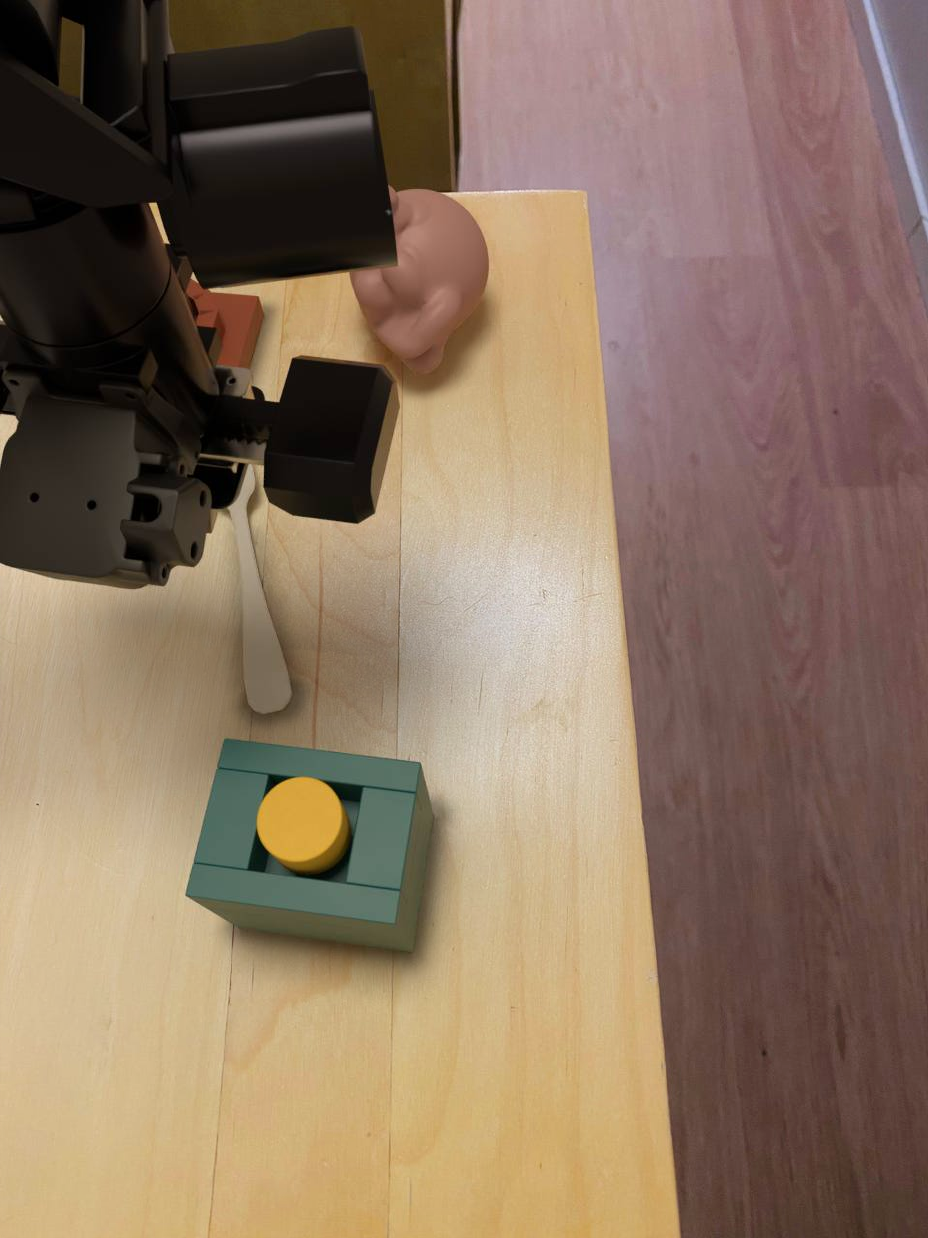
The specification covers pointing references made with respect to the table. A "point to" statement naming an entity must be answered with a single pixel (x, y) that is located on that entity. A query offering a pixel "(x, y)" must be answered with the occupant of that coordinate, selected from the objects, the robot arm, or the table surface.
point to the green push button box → (341, 896)
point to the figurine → (425, 277)
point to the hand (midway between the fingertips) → (206, 524)
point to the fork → (257, 620)
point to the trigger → (304, 825)
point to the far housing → (228, 321)
